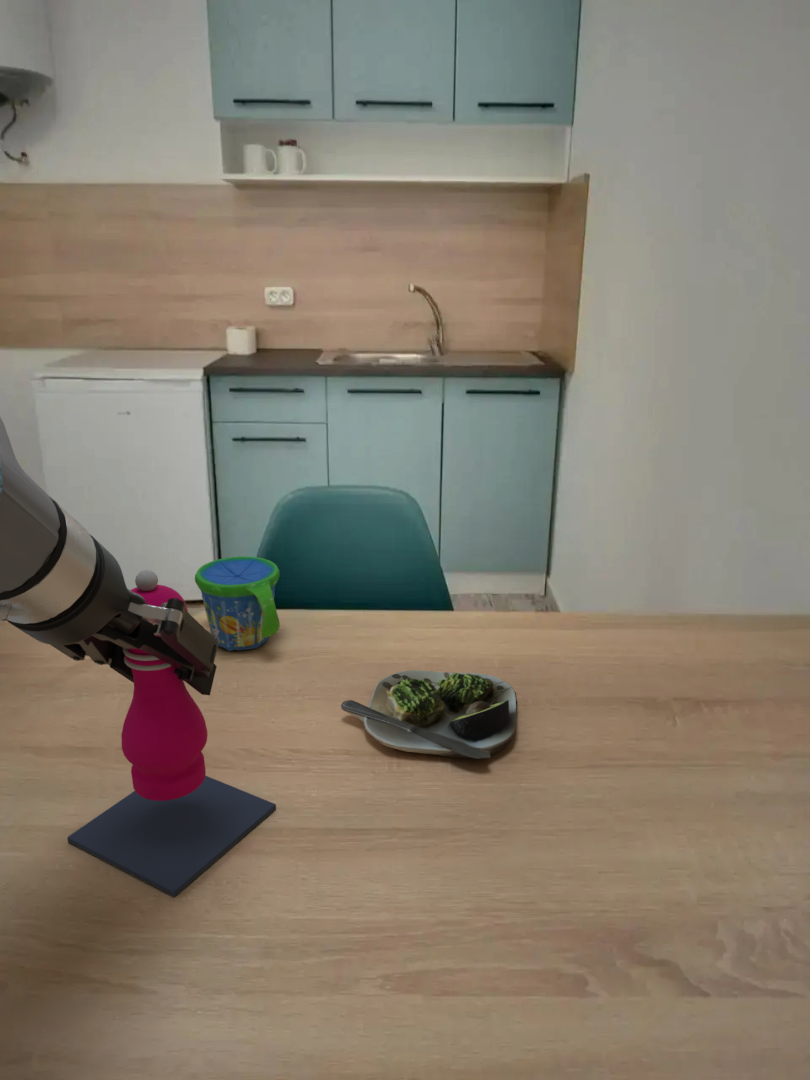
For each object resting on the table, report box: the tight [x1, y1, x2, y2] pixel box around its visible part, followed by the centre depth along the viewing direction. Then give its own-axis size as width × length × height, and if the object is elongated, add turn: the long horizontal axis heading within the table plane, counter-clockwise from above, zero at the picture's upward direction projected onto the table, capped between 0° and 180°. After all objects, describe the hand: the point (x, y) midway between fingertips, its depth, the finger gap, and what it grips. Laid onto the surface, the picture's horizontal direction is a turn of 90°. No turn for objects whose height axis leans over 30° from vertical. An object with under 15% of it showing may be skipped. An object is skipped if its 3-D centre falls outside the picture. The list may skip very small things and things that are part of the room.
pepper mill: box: [120, 569, 209, 801], centre depth 70 cm, size 7×7×20 cm
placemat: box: [66, 774, 277, 898], centre depth 75 cm, size 13×13×1 cm
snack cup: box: [194, 555, 281, 652], centre depth 109 cm, size 16×10×10 cm
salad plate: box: [340, 669, 519, 760], centre depth 91 cm, size 19×18×5 cm
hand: (179, 677), depth 74 cm, fingers closed on pepper mill, 5 cm apart
